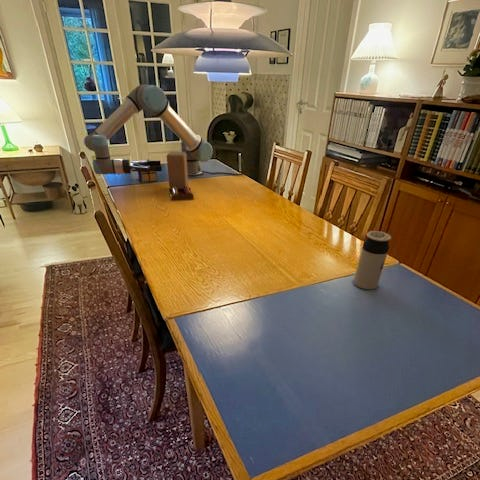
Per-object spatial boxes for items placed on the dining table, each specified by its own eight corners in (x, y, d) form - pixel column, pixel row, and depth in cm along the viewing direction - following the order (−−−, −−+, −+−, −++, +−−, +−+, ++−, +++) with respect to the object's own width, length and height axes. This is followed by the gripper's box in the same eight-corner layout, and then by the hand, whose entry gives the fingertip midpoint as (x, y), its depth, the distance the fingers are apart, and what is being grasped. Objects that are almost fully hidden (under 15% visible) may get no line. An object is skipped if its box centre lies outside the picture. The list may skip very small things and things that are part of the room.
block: (186, 191, 203) (183, 155, 191) (169, 191, 203) (166, 154, 191) (188, 187, 211) (186, 151, 199) (172, 186, 211) (169, 151, 199)
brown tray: (190, 192, 203) (190, 185, 201) (193, 199, 192) (193, 192, 190) (170, 193, 200) (169, 186, 198) (171, 200, 190) (171, 192, 187)
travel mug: (349, 283, 119) (361, 234, 109) (360, 276, 124) (373, 228, 113) (370, 292, 115) (384, 242, 104) (381, 284, 119) (396, 235, 109)
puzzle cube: (138, 178, 225) (136, 162, 219) (153, 177, 228) (151, 161, 223) (141, 182, 218) (139, 165, 212) (157, 180, 221) (155, 164, 215)
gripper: (124, 168, 205) (160, 167, 209) (123, 179, 185) (162, 178, 190) (122, 154, 200) (159, 154, 205) (120, 164, 181) (161, 163, 185)
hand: (161, 165), depth 197 cm, fingers open, 13 cm apart
